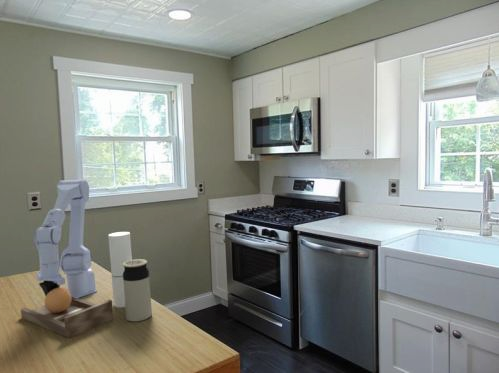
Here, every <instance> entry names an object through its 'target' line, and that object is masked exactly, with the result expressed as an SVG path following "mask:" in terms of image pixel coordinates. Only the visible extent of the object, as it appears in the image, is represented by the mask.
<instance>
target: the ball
mask: <svg viewBox="0 0 499 373" xmlns="http://www.w3.org/2000/svg"><path fill="white" fill-rule="evenodd" d="M71 301H72V297H71V294H70V292H69V291H68V289H66V288H63V287H59V288H55V289H53V290H51V291H50V292H49V293H48V294H47V295H46V296H45V298H44V305H45V306H46V308H47V309H48V310H49V311H50V312H53V313H60V312H63V311H65V310H66V309H67V308H68V307H69V306H70V304H71Z"/></svg>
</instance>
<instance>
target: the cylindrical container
mask: <svg viewBox="0 0 499 373" xmlns="http://www.w3.org/2000/svg"><path fill="white" fill-rule="evenodd" d="M107 236H108V246H109V247H108V248H109V249H108V250H109V258H110V272H111V284H112V286H111V287H112V295H113V297H112V298H113V306H114V307H115V308H125V296H124V283H123V272H124V270H125V268H124V266H123V263H124V262H126V261H130V260H133V256H132V255H133V254H132V240H131V232H130V231H118V232H117V231H116V232H112V233H109V234H108V235H107Z"/></svg>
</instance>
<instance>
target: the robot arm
mask: <svg viewBox="0 0 499 373" xmlns="http://www.w3.org/2000/svg"><path fill="white" fill-rule="evenodd" d="M89 185H90V184H89V183H88V181H87V180H86V179H84V178H82V179H71V180H69V179H68V180H59V182H58V183H57V186H56V190H57V191H56V192H57V195H58V196H57V198H56V201H55V204H54V206H53V209H49V210H48V212H47V214H46V217H45V218H44V221H43V223H42V225H41V226H40V227H38V228H36V230H35V231H34V234H33V235H34V236H33V241H34V243H35V246H36V249H37V251H38V258H39V272H36V281H38V282H39V284H38V286H39V287H40V288H41V289H42V291H43V293H44V296H45V297H46V295H47V294H48V293H49V292H50V291H51V290H53V289H55V288H60V286H61V285H65V284H66V287H67V289H66V290H68V291H69V292H70V294H71V296H72V297H75V298H78V299H80V298H82V297H84V296H88V295H91V294H93V293H96V292H97V291H98V290H97V288H96V279H95V273H94V271H93V270H92V268H91V266H92V257H91V250H90V249H89V248H87V247H85V246H84V235H85V234H84V230H85V214H86V213H85V210H86V203H87V202H89V198H90V186H89ZM69 205H70V218H69V233H68V234H69V236H68V237H69V238H68V246H67V247H66V248H64V250H63V251H62V252H61V256H60V254H59V242H60V241H61V238H62V230H63V229H62V227H63V224H64V223H65V219H66V216H67V215H66V213H65V211H66V209H67V208H68V206H69ZM59 256H60V257H59ZM60 270H61V271H62V272H63V273H64V275H66V277H64V276H63V275H62V274H61V273H60Z"/></svg>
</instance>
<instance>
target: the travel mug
mask: <svg viewBox="0 0 499 373" xmlns="http://www.w3.org/2000/svg"><path fill="white" fill-rule="evenodd" d="M147 263H148V260H146V259H143V258H139V259H138V258H136V259H132V260H130V261H126V262H124V263H123V266H124V268H125V270H124V272H123V283H124V296H125V307H124V309H125V318H126V320H127V321H129V322H142V321H145V320H148V318H151V316H152V314H153V312H152V309H153V308H152V297H151V296H152V295H151V284H150V283H151V282H150V281H151V280H150V270H149V269H148V267H147Z"/></svg>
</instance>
